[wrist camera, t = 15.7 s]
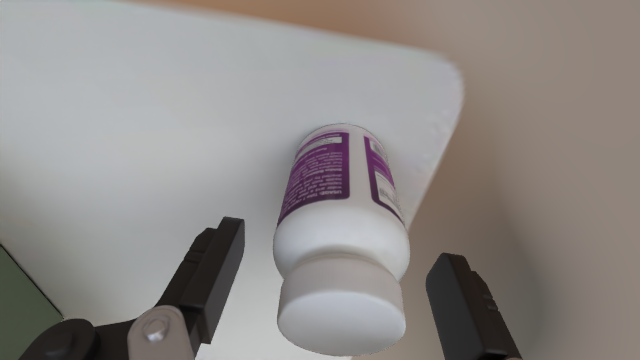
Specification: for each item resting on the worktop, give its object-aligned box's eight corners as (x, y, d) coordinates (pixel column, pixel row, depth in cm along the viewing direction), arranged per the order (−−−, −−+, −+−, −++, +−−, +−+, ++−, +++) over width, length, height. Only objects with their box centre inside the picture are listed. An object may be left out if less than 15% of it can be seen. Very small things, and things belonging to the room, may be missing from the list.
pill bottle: (292, 191, 18) (251, 355, 10) (299, 113, 15) (249, 265, 7) (374, 203, 18) (398, 375, 10) (399, 129, 15) (462, 295, 7)
